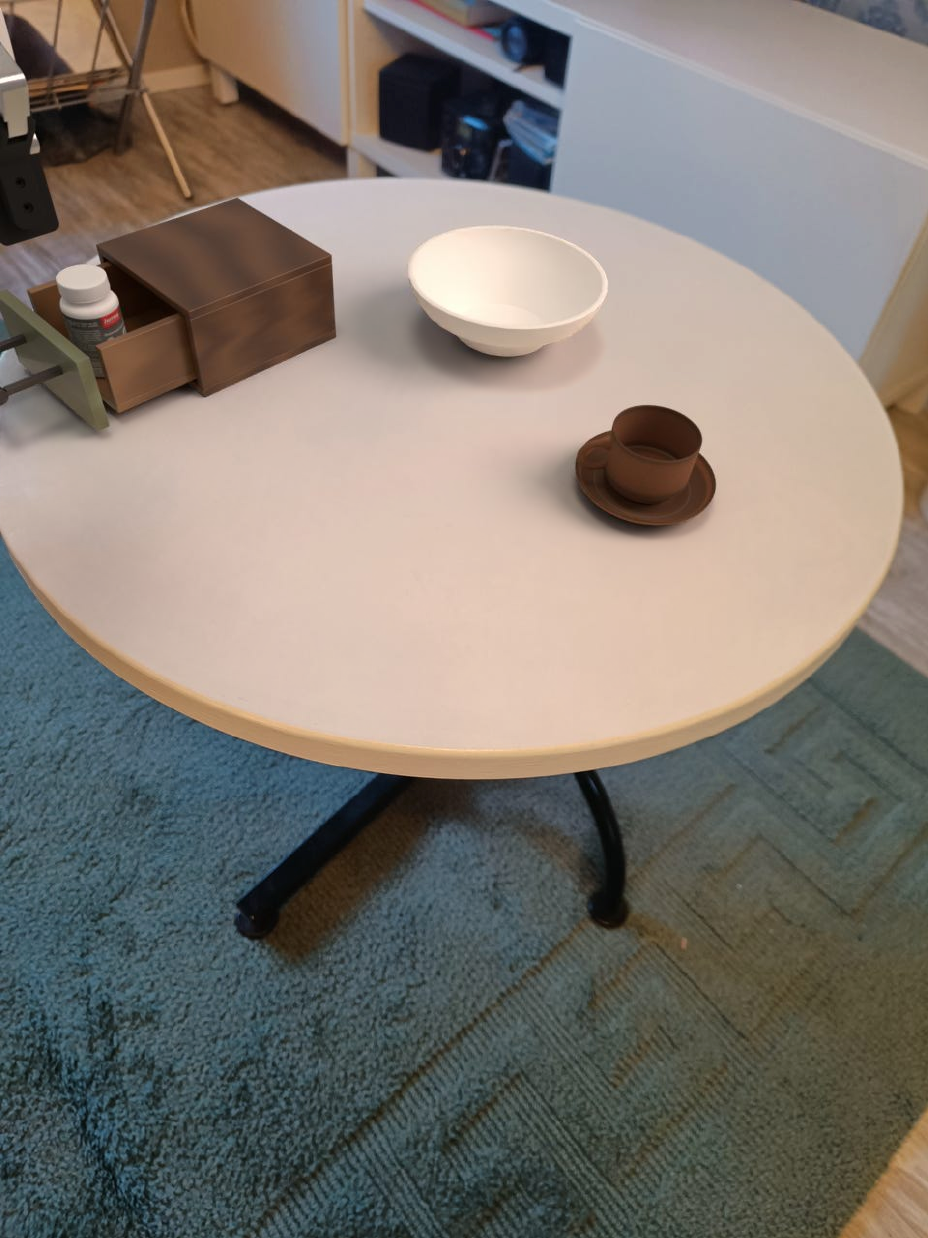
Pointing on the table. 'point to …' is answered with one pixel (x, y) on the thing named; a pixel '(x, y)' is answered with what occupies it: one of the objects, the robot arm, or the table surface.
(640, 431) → the cup and saucer
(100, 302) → the pill bottle
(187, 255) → the cabinet
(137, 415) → the table surface
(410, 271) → the bowl
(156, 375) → the drawer
